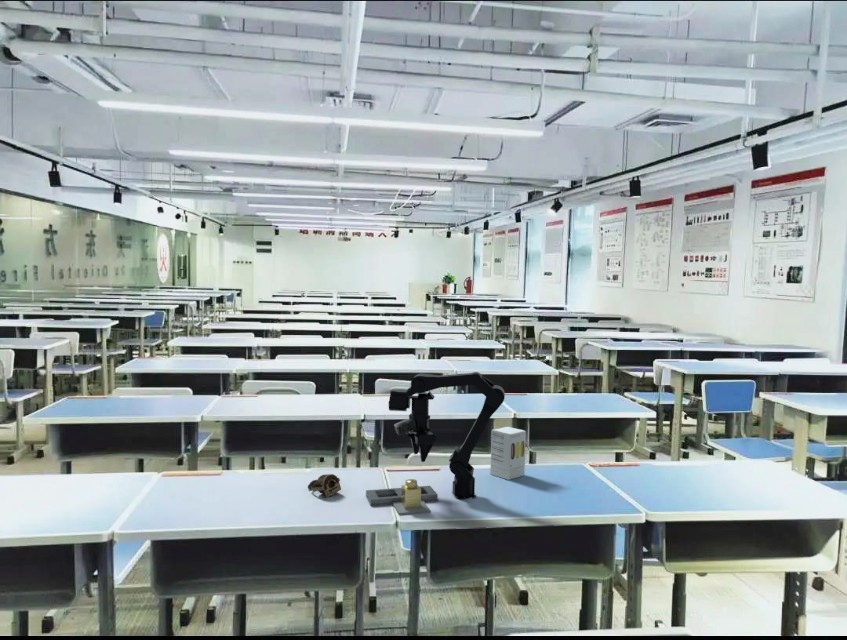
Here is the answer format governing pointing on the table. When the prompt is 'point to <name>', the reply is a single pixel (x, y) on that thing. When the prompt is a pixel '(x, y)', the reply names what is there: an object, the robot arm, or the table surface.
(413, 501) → the brass cube with knob
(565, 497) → the table surface
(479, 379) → the robot arm
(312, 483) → the brown piece
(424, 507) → the mat
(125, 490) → the table surface
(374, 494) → the rectangular frame with openings
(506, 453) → the supplement box
